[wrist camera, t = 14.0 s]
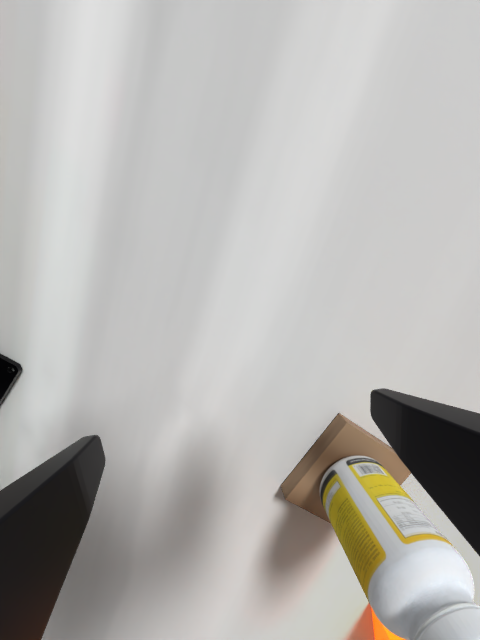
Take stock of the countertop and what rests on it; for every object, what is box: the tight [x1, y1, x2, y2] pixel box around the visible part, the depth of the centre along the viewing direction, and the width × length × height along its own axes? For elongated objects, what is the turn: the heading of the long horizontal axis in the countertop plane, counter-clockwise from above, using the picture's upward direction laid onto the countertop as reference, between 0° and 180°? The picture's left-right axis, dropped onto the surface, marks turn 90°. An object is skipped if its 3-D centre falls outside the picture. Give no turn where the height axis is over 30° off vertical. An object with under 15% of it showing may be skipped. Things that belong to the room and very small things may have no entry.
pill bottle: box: [319, 455, 480, 640], centre depth 18 cm, size 6×6×12 cm
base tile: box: [281, 413, 411, 523], centre depth 25 cm, size 9×9×2 cm
